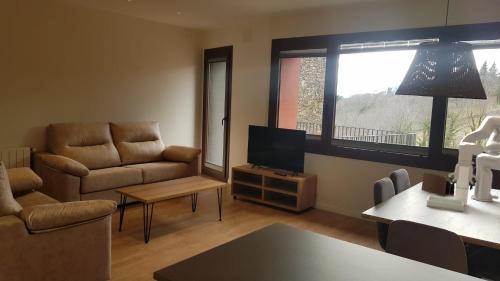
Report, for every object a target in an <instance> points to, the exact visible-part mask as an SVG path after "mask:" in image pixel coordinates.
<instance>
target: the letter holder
mask: <svg viewBox="0 0 500 281" xmlns="http://www.w3.org/2000/svg"><path fill="white" fill-rule="evenodd" d="M421 183H422V184H421V191H424V192H427V193H431V194H434V195H438V196H439V197H444V198H446V197H455V191H456V185H454V188H453V186H452V182H451V181H450V180H447V178H446V177H445V176H442V175H439V174H436V173H432V172H431V173H430V172H423V175H422V181H421Z"/></svg>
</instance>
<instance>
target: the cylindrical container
mask: <svg viewBox="0 0 500 281" xmlns="http://www.w3.org/2000/svg"><path fill="white" fill-rule="evenodd" d="M468 175H469V167H466V166H460V171H459V178H458V180H457V179H456V181H455V183H456V184H455V190H454V199H458V200H463V203H464V206H467V205H468V196H469V190H470V181H468Z"/></svg>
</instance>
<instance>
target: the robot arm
mask: <svg viewBox="0 0 500 281" xmlns="http://www.w3.org/2000/svg"><path fill="white" fill-rule="evenodd" d="M482 140H483V141H484V140H487V141H486V144H484V146H483V145H482V144H480V143H476V142H478V141H482ZM457 149H458V153H459V154H458V162H457V163H456V165H455V169H454V172H451V173H449V174H447V177H448V178H449V181H450V182H451V184H452V186H453V188H454V186H456V184H455V183H456V181H457V180H458V178H459V171H460V166H466V167H469V175H468V181H469V191H472V190H473V188H474V191H473V194H472V195H471V196H470V198H471V200H472V199H473V200H475V201H479V202H486V203H488V202H493V200H494V199H495V200H499V196H497V195H493V194H492V193H491V192H492V191H491V190H492V183H493V172H492V170H496V171H500V115H488V116H486V117H485V118H484V120H483V121H482V123H481V124H480V125H479V126H478V129H477V130H475V131H472V132H470V133H468V134H467V135H465V136H464V137H463V138H462V140H461V141H460V142H459V145H458V148H457ZM473 156H476V158H475V161H473ZM473 165H476V166H475V167H476V172H475V174H474V168H473V167H474V166H473ZM491 169H492V170H491ZM452 176H453V177H454V178H453V177H452ZM473 178H474V180H473Z"/></svg>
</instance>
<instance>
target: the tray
mask: <svg viewBox="0 0 500 281" xmlns="http://www.w3.org/2000/svg"><path fill="white" fill-rule="evenodd" d="M464 206H465V205H464V203H463V200H458V199H455V198H452V197H451V198H449V197H444V196H436V195H428V196H427V200H426V207H429V208H434V209H435V208H436V209H440V210H448V211H454V212H460V213H461V212H462V213H463V212H464Z"/></svg>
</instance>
